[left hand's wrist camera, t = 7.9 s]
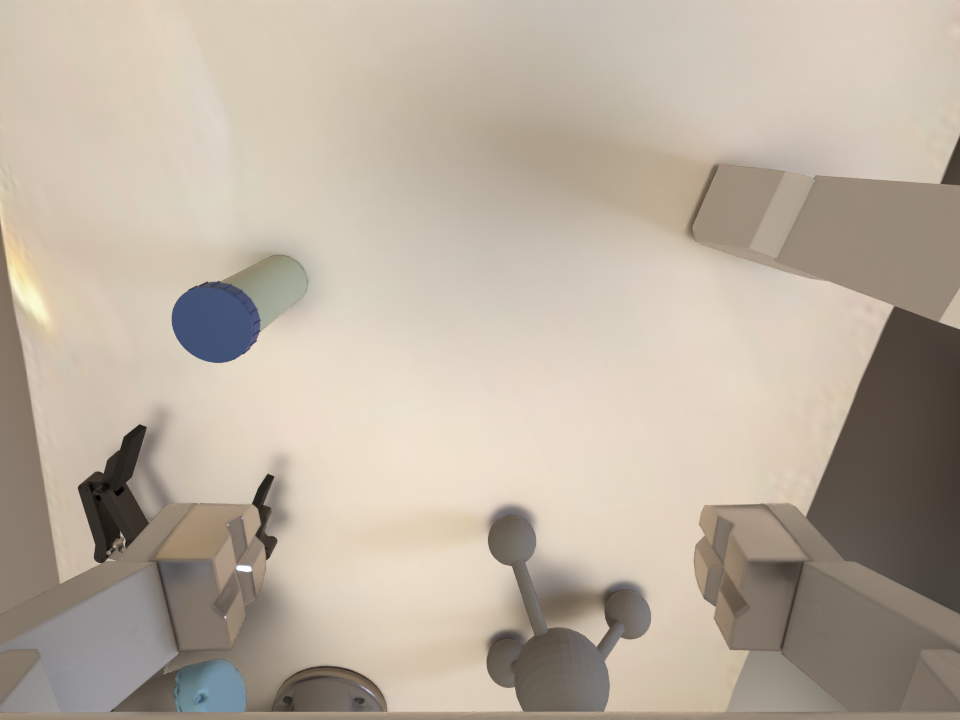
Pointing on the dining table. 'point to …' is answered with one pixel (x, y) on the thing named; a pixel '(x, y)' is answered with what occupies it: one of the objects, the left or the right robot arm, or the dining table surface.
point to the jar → (272, 286)
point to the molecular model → (556, 638)
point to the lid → (216, 322)
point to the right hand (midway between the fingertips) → (202, 457)
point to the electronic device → (843, 233)
